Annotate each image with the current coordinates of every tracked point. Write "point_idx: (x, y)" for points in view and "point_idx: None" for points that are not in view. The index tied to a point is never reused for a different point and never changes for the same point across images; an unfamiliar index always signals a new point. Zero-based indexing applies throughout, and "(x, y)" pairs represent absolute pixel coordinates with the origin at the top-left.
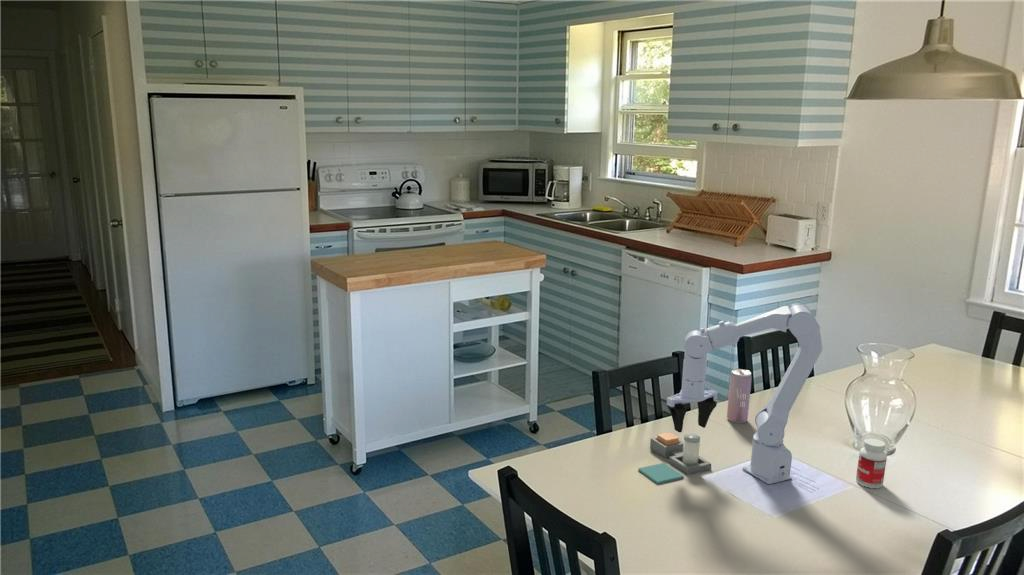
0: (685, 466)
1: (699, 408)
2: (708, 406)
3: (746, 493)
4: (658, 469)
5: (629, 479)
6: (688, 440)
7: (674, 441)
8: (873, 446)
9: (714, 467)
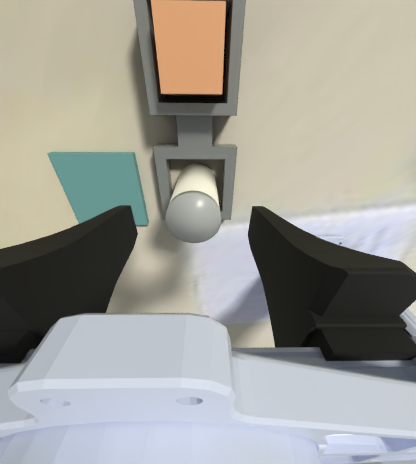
0: (164, 209)
1: (283, 251)
2: (278, 344)
3: (218, 288)
4: (102, 180)
5: (19, 183)
6: (170, 228)
7: (200, 94)
8: None
9: (242, 210)
